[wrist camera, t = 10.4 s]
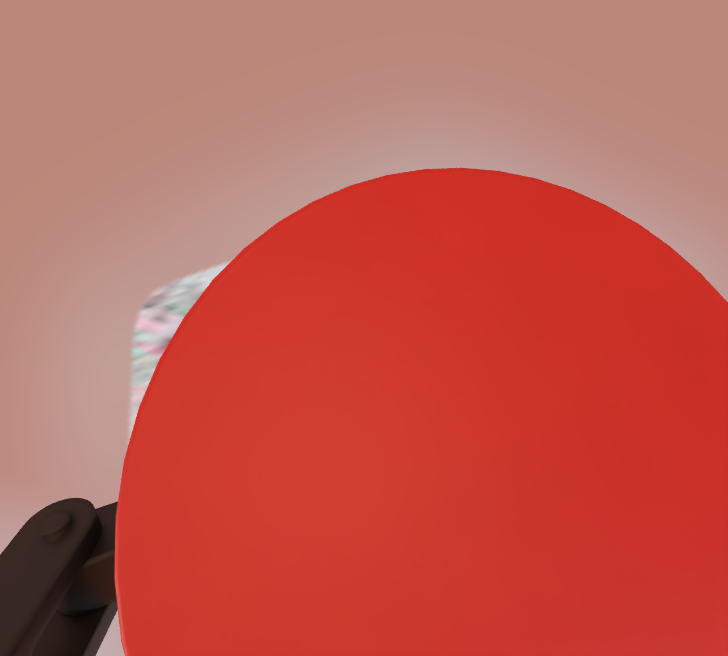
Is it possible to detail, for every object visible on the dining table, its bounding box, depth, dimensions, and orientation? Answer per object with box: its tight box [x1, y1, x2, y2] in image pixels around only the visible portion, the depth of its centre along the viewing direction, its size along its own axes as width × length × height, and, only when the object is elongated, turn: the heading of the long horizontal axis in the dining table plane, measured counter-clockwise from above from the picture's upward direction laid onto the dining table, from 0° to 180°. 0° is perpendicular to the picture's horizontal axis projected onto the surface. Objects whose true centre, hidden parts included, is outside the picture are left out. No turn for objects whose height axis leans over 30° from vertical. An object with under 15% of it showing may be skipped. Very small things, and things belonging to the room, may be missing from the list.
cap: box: [114, 168, 728, 656], centre depth 3 cm, size 4×4×3 cm
